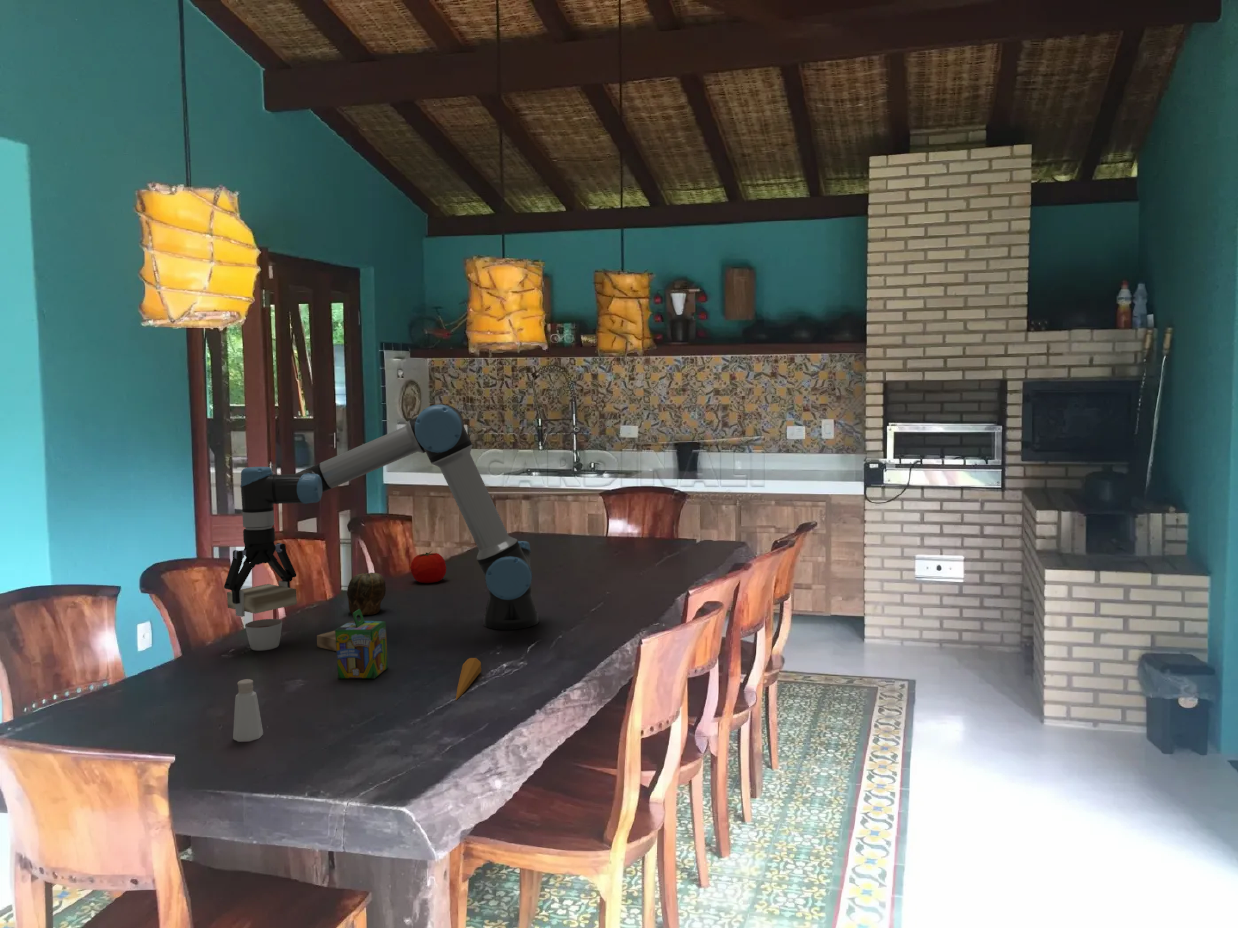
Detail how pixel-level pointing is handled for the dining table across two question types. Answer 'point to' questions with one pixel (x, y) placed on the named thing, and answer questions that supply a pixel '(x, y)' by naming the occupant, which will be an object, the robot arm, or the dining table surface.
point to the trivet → (327, 641)
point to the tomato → (428, 567)
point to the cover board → (265, 598)
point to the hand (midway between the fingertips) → (262, 610)
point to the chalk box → (361, 648)
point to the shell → (366, 593)
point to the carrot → (468, 675)
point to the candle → (264, 634)
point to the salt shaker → (246, 713)
